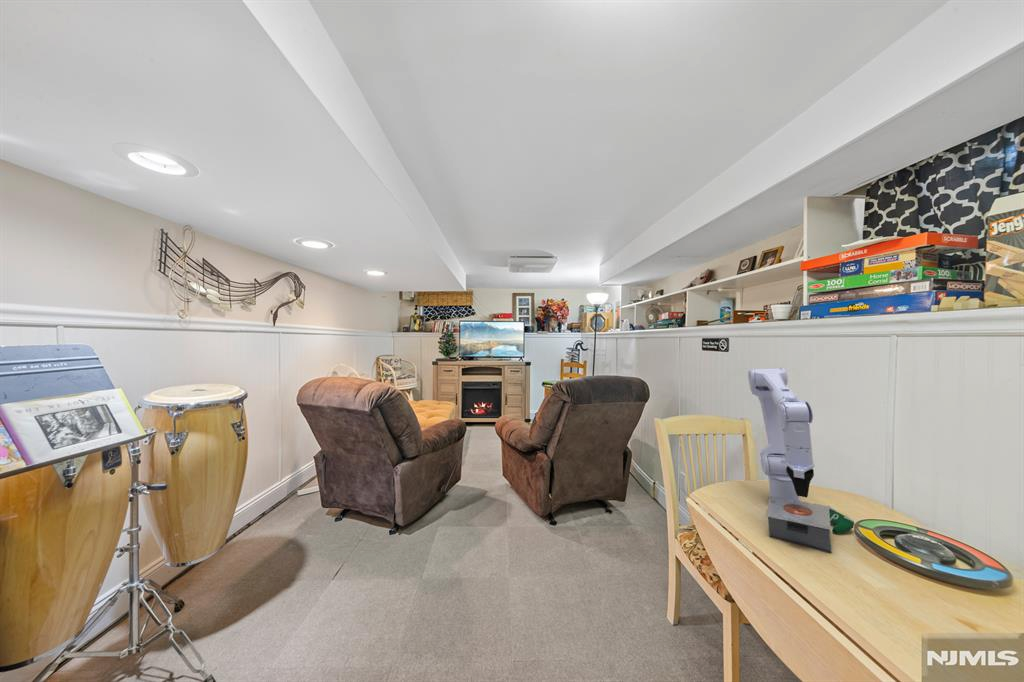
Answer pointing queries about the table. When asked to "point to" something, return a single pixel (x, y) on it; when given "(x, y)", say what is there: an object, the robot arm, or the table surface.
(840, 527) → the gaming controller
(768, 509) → the lid
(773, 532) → the storage bin
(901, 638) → the table surface
